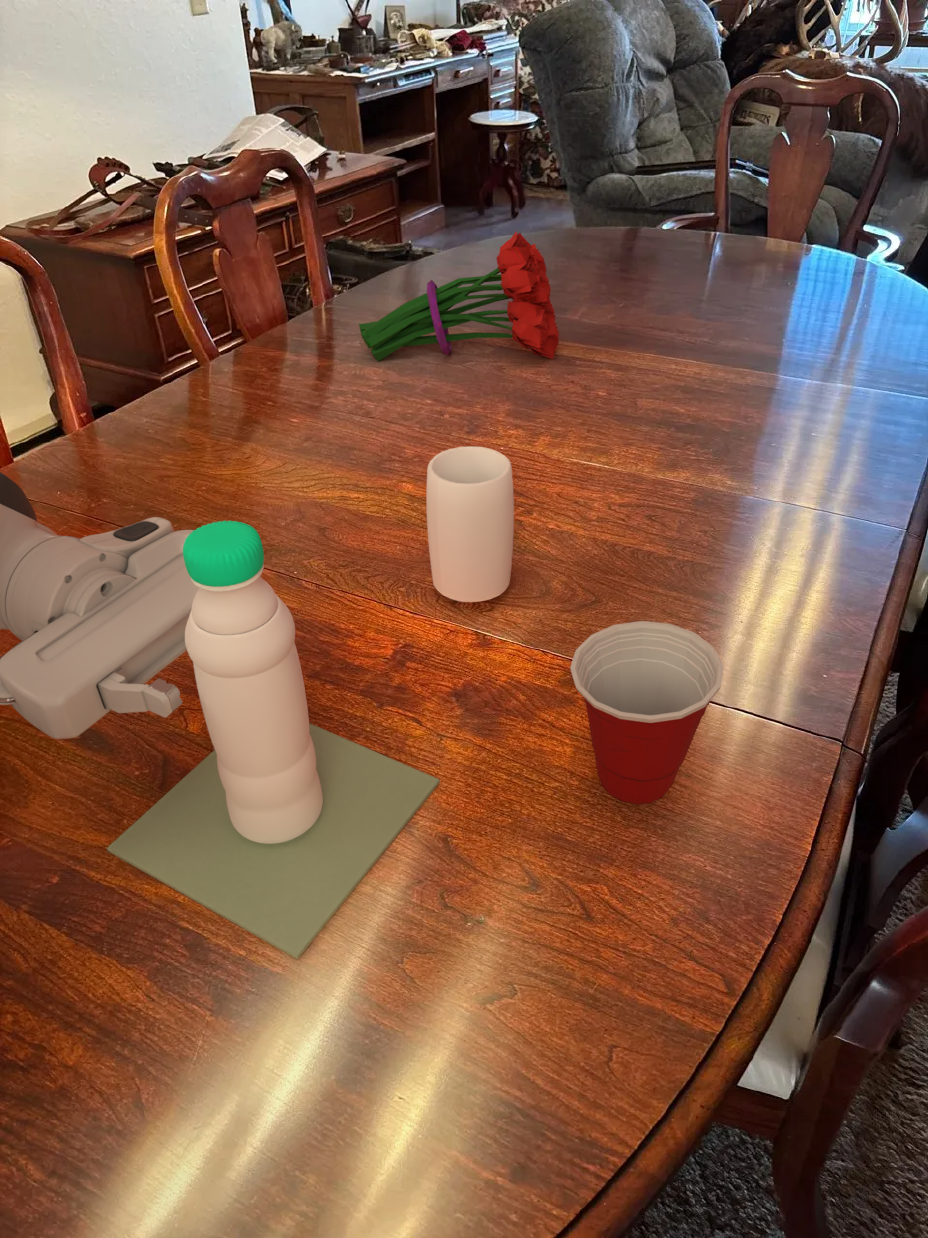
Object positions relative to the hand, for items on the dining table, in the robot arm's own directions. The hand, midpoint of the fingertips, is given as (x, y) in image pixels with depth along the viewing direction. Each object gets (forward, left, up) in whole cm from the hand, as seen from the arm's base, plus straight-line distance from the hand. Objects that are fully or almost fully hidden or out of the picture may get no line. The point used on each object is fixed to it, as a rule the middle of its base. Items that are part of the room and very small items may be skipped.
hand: (223, 662), depth 63 cm
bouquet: (+86, +33, -15) cm, 93 cm away
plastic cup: (+17, -24, -15) cm, 33 cm away
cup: (+33, 0, -15) cm, 36 cm away
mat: (0, -2, -14) cm, 15 cm away
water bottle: (0, -2, -14) cm, 14 cm away
